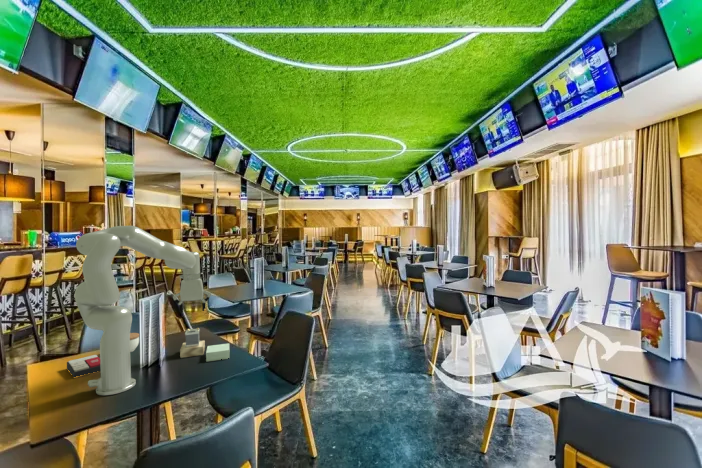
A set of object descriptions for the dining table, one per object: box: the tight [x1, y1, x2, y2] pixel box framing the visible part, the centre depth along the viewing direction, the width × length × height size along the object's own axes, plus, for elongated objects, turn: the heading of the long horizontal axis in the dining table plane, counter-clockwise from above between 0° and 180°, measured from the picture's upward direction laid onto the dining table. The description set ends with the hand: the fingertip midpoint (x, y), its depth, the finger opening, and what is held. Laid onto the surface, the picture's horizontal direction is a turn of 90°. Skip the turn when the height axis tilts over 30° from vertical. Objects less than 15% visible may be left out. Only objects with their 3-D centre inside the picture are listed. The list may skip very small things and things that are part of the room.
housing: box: [184, 327, 201, 348], centre depth 166 cm, size 6×6×8 cm
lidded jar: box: [130, 332, 140, 353], centre depth 170 cm, size 11×11×9 cm
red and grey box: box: [66, 354, 101, 378], centre depth 148 cm, size 11×4×15 cm
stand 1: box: [179, 339, 206, 359], centre depth 166 cm, size 10×10×4 cm
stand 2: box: [205, 342, 230, 363], centre depth 160 cm, size 10×10×4 cm
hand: (192, 311), depth 165 cm, fingers open, 9 cm apart
